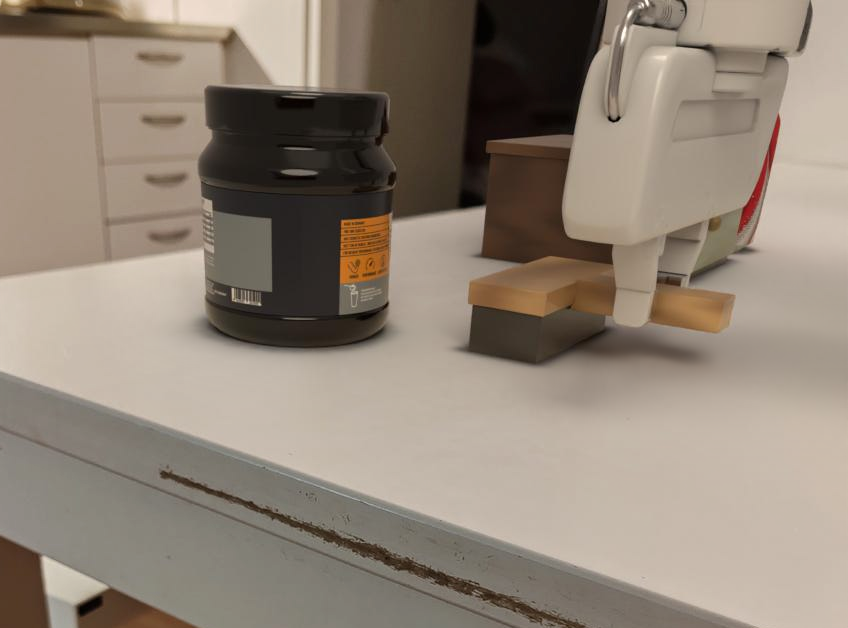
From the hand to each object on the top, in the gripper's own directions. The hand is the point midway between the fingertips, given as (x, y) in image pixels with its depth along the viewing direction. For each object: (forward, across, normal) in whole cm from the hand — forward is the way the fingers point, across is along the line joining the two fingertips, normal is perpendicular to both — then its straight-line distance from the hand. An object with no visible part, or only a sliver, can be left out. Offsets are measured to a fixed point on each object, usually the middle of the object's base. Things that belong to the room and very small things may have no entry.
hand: (648, 315), depth 52 cm
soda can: (+2, +42, +8) cm, 43 cm away
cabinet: (+2, +29, +13) cm, 32 cm away
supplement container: (+2, -7, +18) cm, 19 cm away
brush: (+2, 0, +2) cm, 3 cm away
